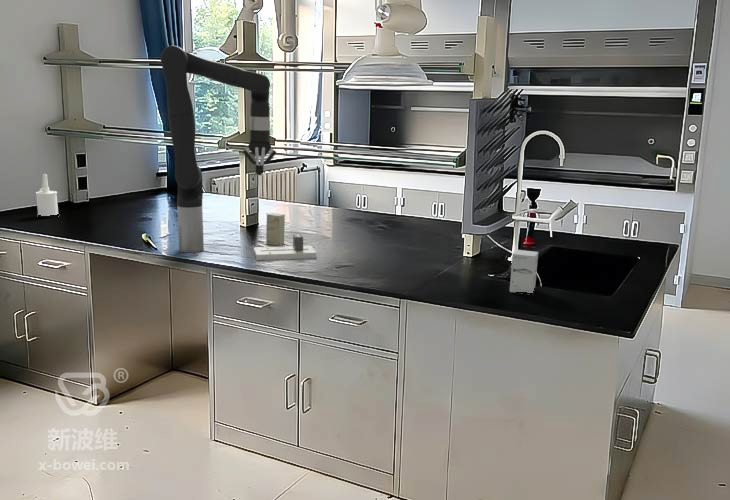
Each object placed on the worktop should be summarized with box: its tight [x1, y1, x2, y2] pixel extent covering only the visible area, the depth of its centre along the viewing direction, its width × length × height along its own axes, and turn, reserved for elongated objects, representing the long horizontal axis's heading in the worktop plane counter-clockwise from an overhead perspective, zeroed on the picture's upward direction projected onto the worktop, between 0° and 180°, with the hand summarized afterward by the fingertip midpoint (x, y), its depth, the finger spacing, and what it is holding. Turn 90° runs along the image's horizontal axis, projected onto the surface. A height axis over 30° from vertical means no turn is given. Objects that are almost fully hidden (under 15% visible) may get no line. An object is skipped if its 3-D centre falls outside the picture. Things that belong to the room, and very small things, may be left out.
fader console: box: [253, 245, 317, 261], centre depth 263 cm, size 22×12×2 cm, turn 104°
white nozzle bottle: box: [35, 173, 59, 216], centre depth 327 cm, size 10×9×20 cm
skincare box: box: [265, 212, 286, 247], centre depth 280 cm, size 6×4×12 cm
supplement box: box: [509, 249, 539, 294], centre depth 221 cm, size 7×7×13 cm
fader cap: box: [292, 233, 304, 250], centre depth 263 cm, size 3×5×5 cm, turn 14°
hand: (259, 174), depth 266 cm, fingers closed
